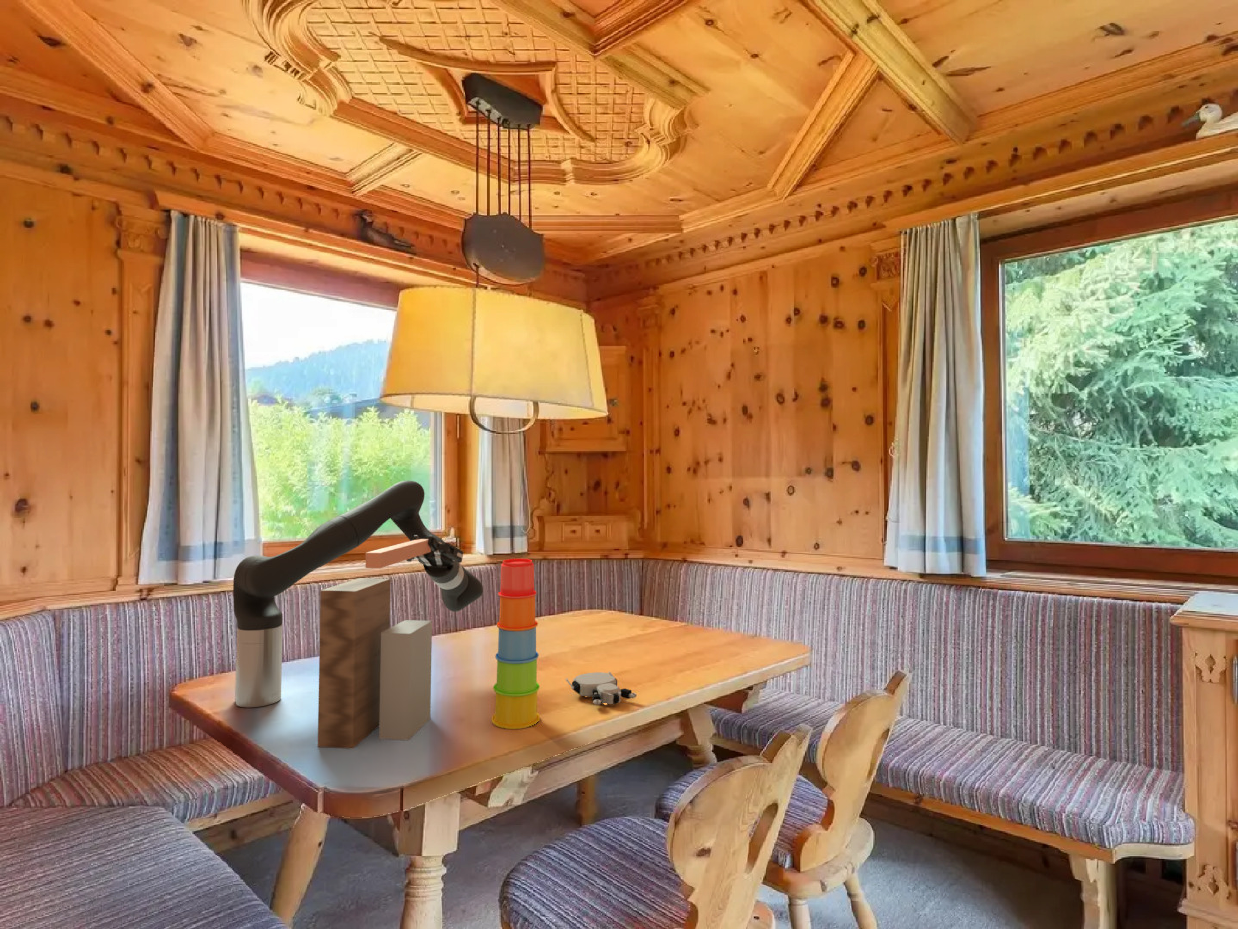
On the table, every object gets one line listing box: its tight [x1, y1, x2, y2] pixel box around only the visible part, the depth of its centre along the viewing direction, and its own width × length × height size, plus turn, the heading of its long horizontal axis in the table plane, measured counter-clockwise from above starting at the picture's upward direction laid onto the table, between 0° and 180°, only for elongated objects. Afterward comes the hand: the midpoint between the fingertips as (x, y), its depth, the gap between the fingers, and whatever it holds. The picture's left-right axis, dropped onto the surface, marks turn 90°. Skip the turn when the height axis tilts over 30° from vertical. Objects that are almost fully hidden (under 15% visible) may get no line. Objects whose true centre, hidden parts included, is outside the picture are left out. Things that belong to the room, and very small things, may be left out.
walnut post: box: [317, 577, 391, 749], centre depth 137 cm, size 7×16×30 cm, turn 175°
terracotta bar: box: [365, 539, 431, 569], centre depth 136 cm, size 3×26×3 cm, turn 176°
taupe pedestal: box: [378, 619, 433, 741], centre depth 140 cm, size 6×12×21 cm, turn 175°
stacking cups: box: [491, 557, 541, 730], centre depth 145 cm, size 10×10×35 cm
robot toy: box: [565, 671, 637, 706], centre depth 159 cm, size 12×4×15 cm
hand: (422, 539), depth 148 cm, fingers closed on terracotta bar, 2 cm apart
